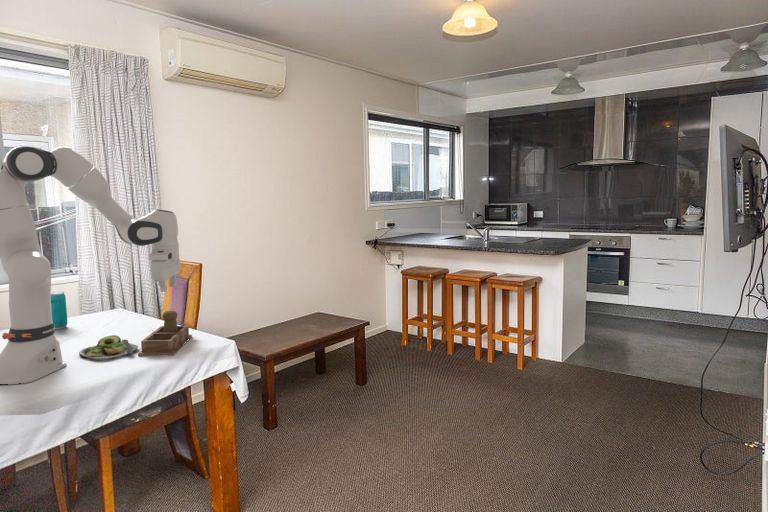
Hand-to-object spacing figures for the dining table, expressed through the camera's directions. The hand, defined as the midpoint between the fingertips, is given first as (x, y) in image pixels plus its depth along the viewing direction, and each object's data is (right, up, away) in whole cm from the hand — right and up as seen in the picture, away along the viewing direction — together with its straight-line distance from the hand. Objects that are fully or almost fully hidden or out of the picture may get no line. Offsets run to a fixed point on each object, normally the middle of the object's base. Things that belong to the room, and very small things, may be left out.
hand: (168, 288), depth 188 cm
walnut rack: (0, -21, -2) cm, 21 cm away
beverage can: (-55, -18, +21) cm, 61 cm away
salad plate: (-17, -23, -9) cm, 30 cm away
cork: (0, -20, +3) cm, 20 cm away
